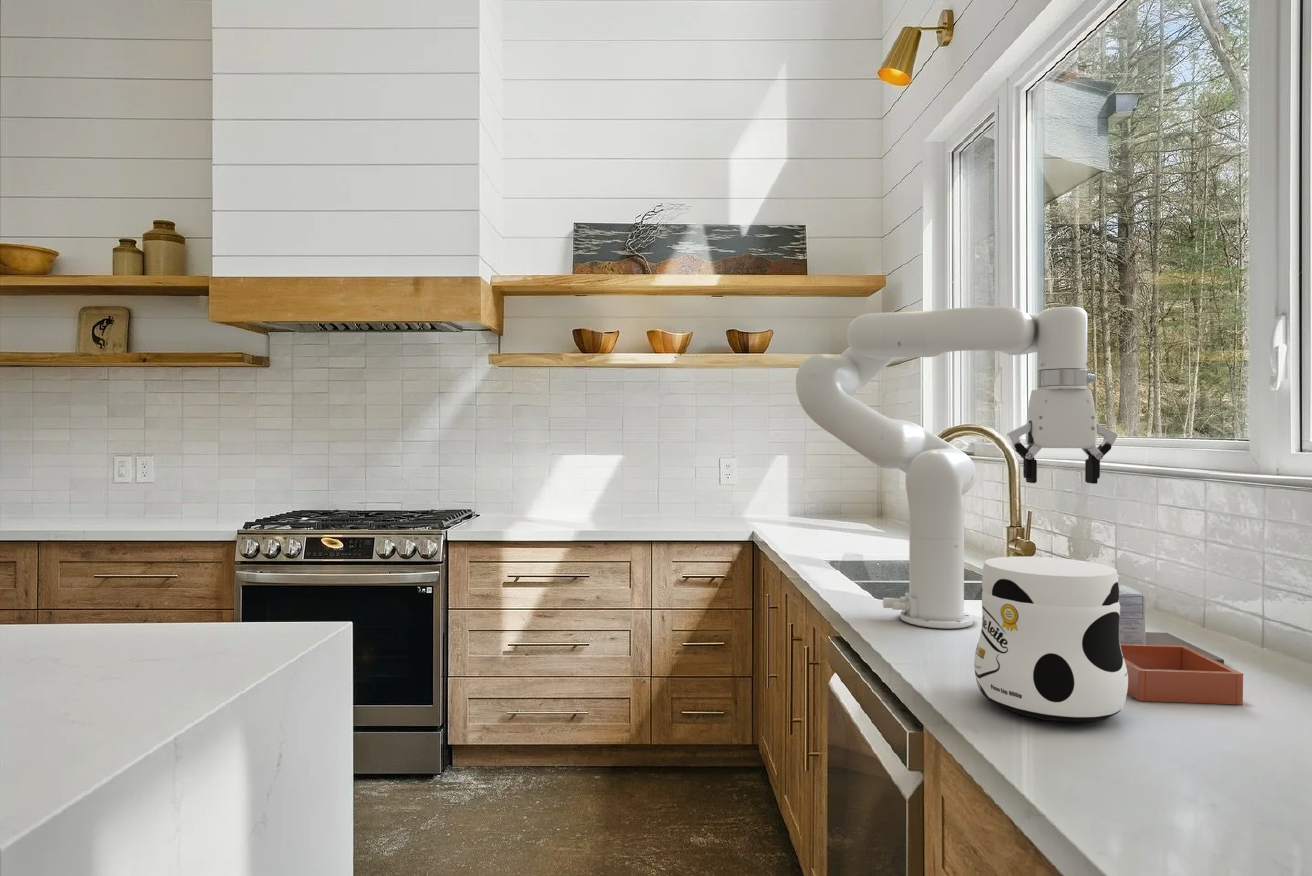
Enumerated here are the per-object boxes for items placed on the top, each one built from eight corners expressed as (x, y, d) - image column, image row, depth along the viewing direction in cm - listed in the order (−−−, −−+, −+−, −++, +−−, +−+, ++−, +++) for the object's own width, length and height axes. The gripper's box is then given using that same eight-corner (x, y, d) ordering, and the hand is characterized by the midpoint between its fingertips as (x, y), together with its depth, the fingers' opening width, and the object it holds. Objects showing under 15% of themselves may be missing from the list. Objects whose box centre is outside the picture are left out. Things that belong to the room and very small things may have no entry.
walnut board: (1069, 661, 121) (1069, 654, 121) (1031, 634, 137) (1031, 628, 137) (1224, 666, 118) (1224, 659, 118) (1167, 638, 134) (1167, 632, 134)
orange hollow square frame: (1138, 700, 103) (1138, 670, 103) (1092, 669, 116) (1092, 642, 116) (1243, 704, 101) (1243, 673, 101) (1184, 672, 115) (1184, 645, 115)
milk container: (944, 696, 105) (945, 559, 104) (1040, 679, 111) (1040, 551, 111) (1057, 743, 89) (1058, 582, 88) (1161, 721, 96) (1162, 572, 95)
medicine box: (1146, 650, 123) (1146, 594, 123) (1114, 648, 124) (1115, 593, 124) (1126, 637, 131) (1126, 584, 131) (1097, 636, 132) (1097, 583, 132)
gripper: (1105, 382, 137) (1105, 482, 137) (1001, 383, 138) (1000, 481, 139) (1126, 379, 129) (1126, 484, 129) (1015, 380, 131) (1015, 483, 131)
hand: (1061, 482), depth 134 cm, fingers open, 9 cm apart
